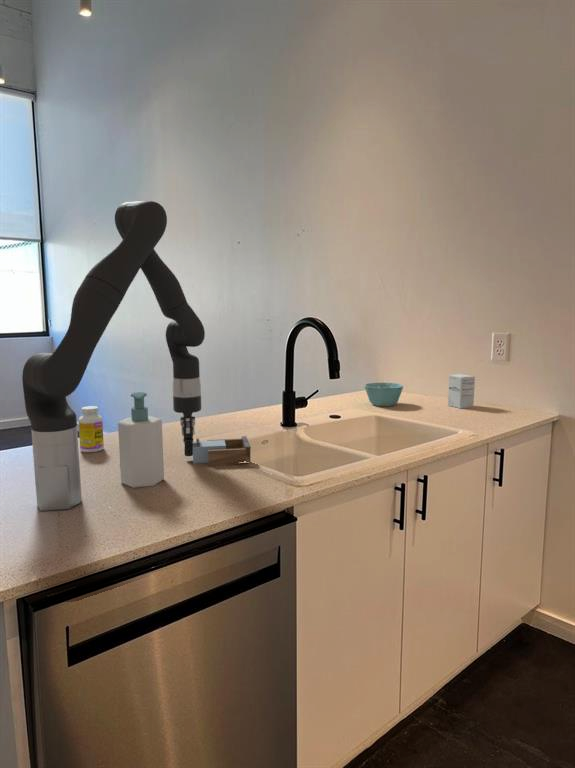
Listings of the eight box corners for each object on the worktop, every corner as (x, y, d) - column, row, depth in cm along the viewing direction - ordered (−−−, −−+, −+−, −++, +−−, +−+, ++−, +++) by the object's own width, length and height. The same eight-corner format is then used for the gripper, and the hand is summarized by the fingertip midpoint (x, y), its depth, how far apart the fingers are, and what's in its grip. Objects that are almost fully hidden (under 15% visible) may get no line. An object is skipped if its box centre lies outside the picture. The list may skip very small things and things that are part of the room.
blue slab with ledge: (226, 461, 159) (225, 442, 158) (193, 463, 157) (192, 443, 156) (224, 455, 164) (224, 436, 163) (192, 457, 163) (192, 438, 162)
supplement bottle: (96, 453, 167) (94, 410, 165) (75, 452, 168) (73, 409, 166) (108, 447, 173) (105, 405, 171) (88, 446, 174) (85, 404, 172)
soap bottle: (121, 489, 136) (116, 397, 133) (121, 477, 145) (116, 391, 142) (165, 485, 139) (161, 395, 136) (163, 473, 148) (159, 389, 144)
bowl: (357, 402, 242) (358, 382, 240) (391, 400, 246) (392, 381, 245) (374, 409, 227) (374, 388, 226) (409, 407, 232) (410, 386, 230)
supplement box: (447, 405, 234) (448, 374, 232) (461, 404, 237) (462, 373, 235) (459, 408, 227) (461, 377, 225) (474, 407, 230) (475, 375, 228)
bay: (250, 463, 156) (250, 446, 156) (208, 465, 155) (208, 449, 154) (246, 451, 168) (246, 436, 167) (207, 453, 166) (207, 437, 165)
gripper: (201, 397, 151) (203, 461, 154) (200, 389, 164) (201, 448, 167) (172, 398, 150) (174, 463, 152) (173, 390, 163) (175, 449, 165)
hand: (188, 455), depth 159 cm, fingers closed
